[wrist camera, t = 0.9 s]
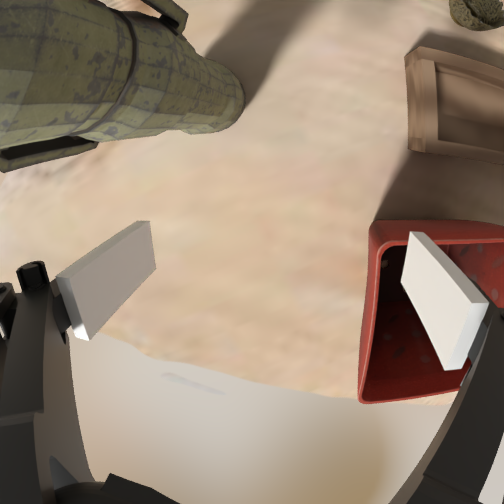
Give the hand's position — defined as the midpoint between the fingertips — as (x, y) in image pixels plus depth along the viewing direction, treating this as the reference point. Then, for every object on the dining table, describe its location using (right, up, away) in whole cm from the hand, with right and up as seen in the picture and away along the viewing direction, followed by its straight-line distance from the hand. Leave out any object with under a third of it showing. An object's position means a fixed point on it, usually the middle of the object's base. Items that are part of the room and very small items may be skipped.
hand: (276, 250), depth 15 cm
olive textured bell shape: (+28, +33, +9) cm, 44 cm away
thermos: (-6, +19, +21) cm, 29 cm away
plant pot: (+21, -1, +25) cm, 33 cm away
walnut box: (+28, +19, +15) cm, 37 cm away
